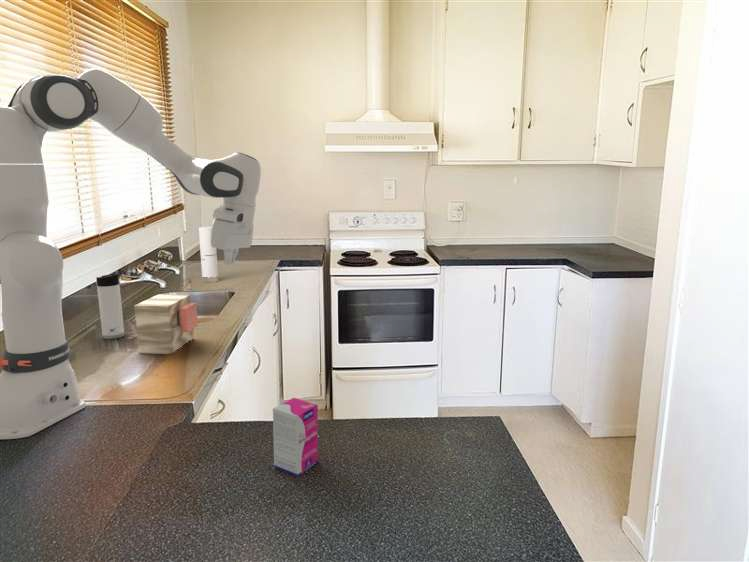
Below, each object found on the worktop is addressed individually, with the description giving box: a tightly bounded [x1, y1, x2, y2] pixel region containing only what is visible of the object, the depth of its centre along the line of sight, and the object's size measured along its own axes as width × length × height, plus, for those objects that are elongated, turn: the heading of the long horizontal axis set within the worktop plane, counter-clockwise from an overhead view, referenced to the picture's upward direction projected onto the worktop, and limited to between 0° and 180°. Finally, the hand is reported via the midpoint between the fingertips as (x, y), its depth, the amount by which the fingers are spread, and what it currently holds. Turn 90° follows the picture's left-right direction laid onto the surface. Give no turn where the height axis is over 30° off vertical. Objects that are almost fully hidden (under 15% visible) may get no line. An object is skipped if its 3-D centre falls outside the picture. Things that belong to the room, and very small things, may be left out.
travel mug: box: [96, 273, 125, 340], centre depth 171 cm, size 6×7×20 cm
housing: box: [133, 293, 194, 355], centre depth 162 cm, size 14×10×14 cm
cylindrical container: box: [198, 226, 219, 278], centre depth 251 cm, size 7×7×25 cm
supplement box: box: [272, 397, 319, 477], centre depth 97 cm, size 6×6×12 cm
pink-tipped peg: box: [177, 302, 199, 332], centre depth 162 cm, size 7×14×7 cm, turn 84°
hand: (228, 264), depth 152 cm, fingers closed
